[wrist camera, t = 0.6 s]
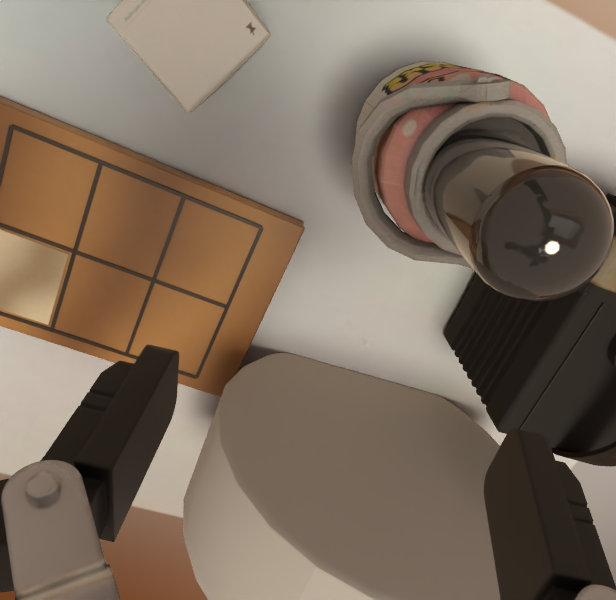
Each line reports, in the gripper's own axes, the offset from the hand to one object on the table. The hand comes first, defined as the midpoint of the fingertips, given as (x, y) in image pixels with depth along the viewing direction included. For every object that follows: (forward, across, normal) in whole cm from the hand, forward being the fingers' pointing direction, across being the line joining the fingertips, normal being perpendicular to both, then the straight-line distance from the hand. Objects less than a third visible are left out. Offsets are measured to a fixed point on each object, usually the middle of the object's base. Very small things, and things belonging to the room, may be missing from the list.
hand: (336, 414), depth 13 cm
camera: (+26, -14, +8) cm, 30 cm away
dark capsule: (+13, -4, -2) cm, 14 cm away
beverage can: (+25, -2, 0) cm, 25 cm away
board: (+20, +14, +10) cm, 27 cm away
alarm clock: (+22, -3, +21) cm, 30 cm away
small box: (+23, +10, -4) cm, 26 cm away
